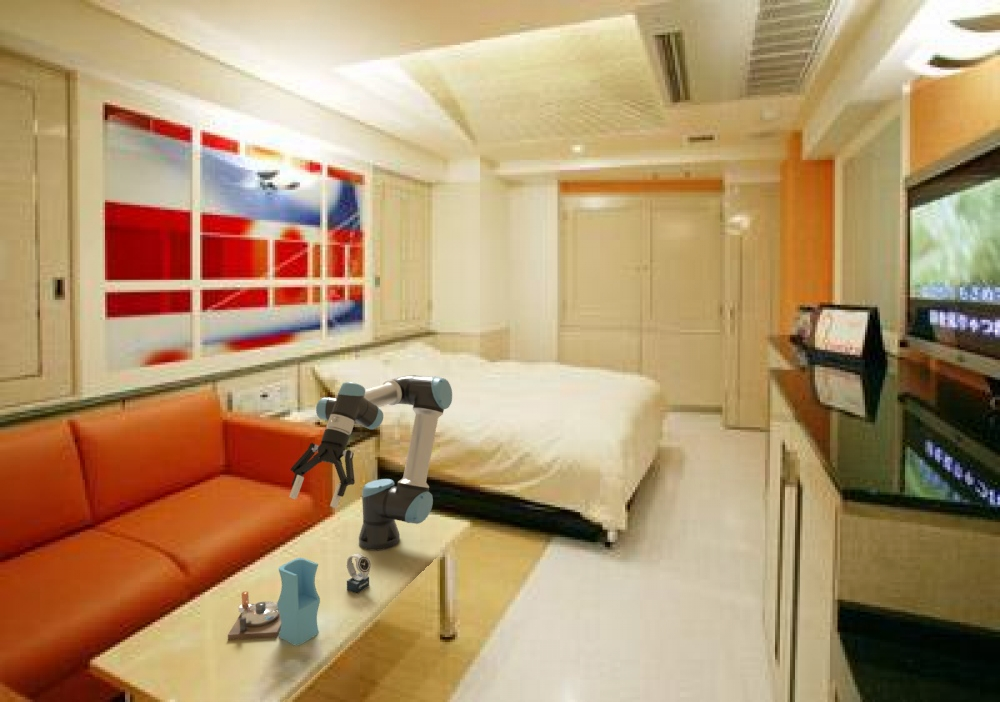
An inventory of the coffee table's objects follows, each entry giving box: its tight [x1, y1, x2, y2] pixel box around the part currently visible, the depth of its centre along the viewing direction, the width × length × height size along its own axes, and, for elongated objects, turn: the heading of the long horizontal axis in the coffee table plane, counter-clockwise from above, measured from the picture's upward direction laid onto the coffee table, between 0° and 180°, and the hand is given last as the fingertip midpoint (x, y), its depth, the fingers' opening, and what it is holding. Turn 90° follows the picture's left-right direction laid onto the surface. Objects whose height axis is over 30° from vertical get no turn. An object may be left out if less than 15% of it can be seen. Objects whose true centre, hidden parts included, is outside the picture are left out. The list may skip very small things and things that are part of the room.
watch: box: [346, 552, 372, 595], centre depth 181 cm, size 6×8×11 cm
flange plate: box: [237, 591, 280, 626], centre depth 163 cm, size 12×10×6 cm
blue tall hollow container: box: [276, 557, 321, 646], centre depth 156 cm, size 8×8×20 cm
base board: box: [227, 603, 281, 641], centre depth 163 cm, size 15×13×5 cm
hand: (312, 502), depth 162 cm, fingers open, 13 cm apart
